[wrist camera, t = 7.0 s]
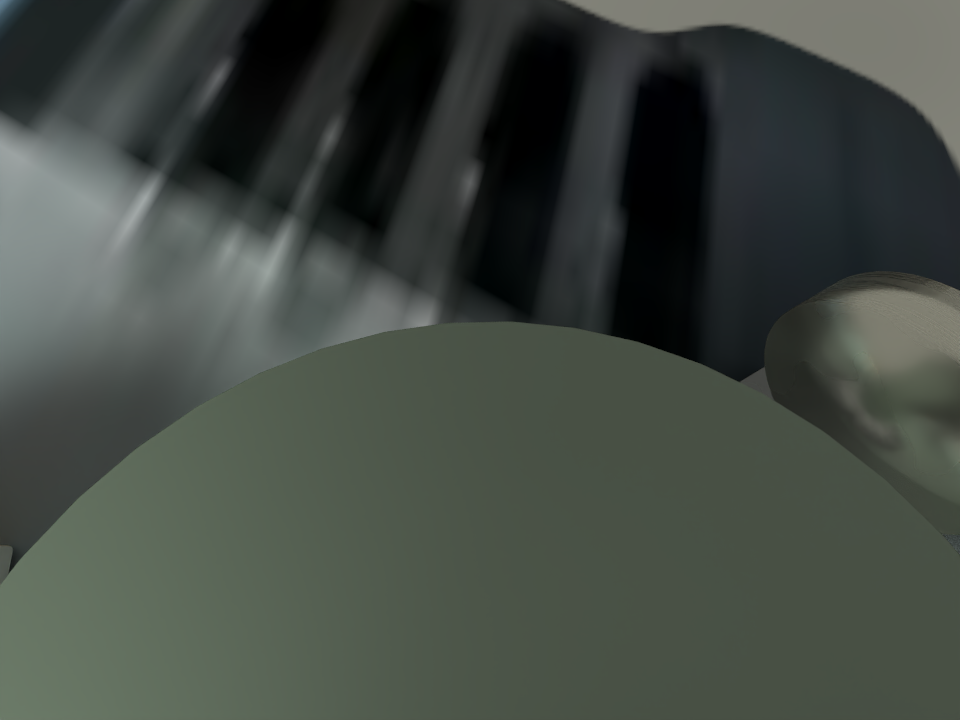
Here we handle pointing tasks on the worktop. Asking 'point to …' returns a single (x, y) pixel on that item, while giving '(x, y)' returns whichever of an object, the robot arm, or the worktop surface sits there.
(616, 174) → the worktop surface
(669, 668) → the canister
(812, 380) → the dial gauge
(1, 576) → the small box
